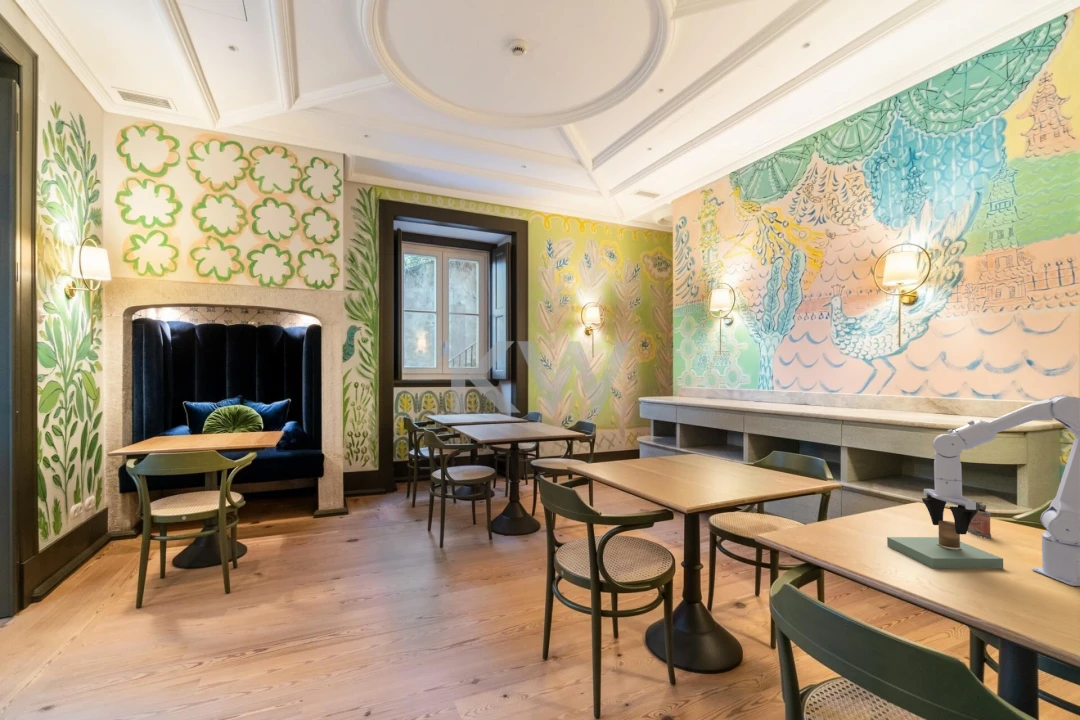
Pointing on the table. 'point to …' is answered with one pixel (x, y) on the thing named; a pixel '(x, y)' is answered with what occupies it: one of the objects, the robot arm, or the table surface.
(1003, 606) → the table surface
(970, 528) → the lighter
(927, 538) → the board
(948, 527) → the peg
